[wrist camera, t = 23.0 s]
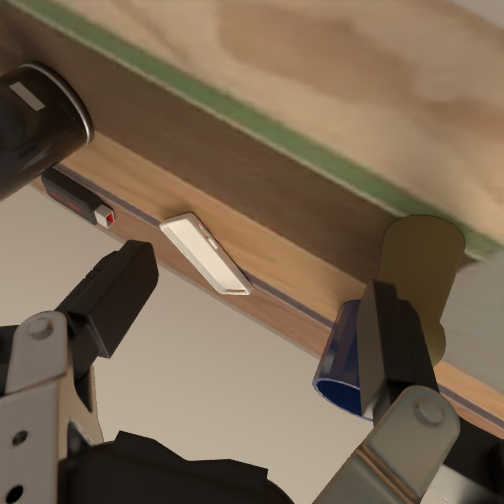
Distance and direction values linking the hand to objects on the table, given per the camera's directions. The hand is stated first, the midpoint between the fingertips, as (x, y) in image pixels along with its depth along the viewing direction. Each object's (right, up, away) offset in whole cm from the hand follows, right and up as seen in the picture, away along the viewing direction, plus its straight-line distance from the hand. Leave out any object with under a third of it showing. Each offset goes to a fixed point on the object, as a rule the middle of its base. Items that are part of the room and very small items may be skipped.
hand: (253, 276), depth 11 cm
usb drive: (-28, +10, +39) cm, 49 cm away
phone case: (-6, +1, +34) cm, 34 cm away
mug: (+15, -7, +25) cm, 30 cm away
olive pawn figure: (+14, +2, +15) cm, 21 cm away
